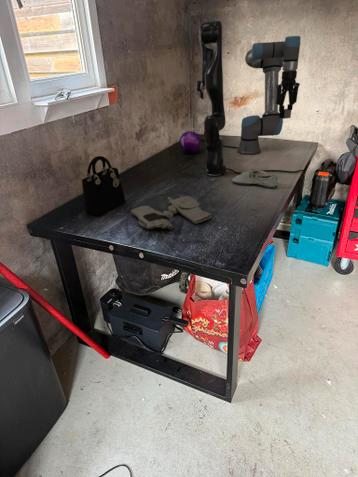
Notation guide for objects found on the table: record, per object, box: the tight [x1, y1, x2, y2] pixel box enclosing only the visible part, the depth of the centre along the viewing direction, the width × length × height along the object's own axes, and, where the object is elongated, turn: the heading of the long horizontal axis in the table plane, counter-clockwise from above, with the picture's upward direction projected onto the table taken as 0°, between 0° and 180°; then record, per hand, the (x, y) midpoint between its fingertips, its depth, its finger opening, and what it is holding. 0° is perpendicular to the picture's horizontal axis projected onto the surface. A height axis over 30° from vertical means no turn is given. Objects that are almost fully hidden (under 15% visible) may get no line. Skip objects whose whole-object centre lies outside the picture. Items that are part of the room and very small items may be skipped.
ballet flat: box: [231, 169, 279, 189], centre depth 173 cm, size 8×24×8 cm, turn 61°
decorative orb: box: [178, 130, 202, 154], centre depth 230 cm, size 15×15×15 cm
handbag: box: [81, 155, 126, 217], centre depth 153 cm, size 21×9×25 cm, turn 148°
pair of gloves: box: [130, 195, 212, 230], centre depth 145 cm, size 30×26×5 cm
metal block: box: [283, 108, 292, 120], centre depth 183 cm, size 4×4×4 cm
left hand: (208, 98), depth 203 cm, fingers open, 8 cm apart
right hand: (284, 117), depth 184 cm, fingers closed on metal block, 4 cm apart
